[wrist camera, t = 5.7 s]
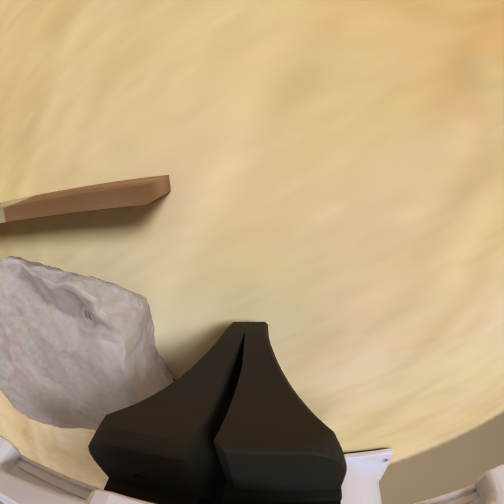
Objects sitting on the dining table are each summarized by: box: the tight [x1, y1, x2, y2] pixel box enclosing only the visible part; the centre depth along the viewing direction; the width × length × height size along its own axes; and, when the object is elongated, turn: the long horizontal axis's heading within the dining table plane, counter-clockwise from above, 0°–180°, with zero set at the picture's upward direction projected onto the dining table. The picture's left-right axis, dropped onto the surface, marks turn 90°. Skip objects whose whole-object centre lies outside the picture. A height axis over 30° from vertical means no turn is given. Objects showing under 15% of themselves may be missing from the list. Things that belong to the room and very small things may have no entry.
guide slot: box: [0, 175, 170, 223], centre depth 13 cm, size 13×15×2 cm
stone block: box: [0, 256, 173, 430], centre depth 13 cm, size 12×5×10 cm
